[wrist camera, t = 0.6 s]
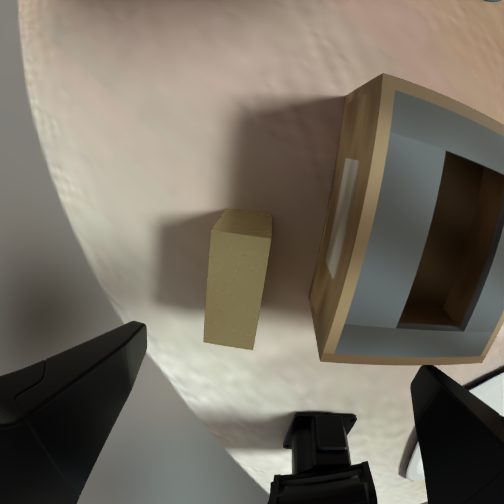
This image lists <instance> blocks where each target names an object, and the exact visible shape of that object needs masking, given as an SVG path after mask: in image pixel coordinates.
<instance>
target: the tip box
mask: <svg viewBox="0 0 504 504" xmlns="http://www.w3.org/2000/svg"><path fill="white" fill-rule="evenodd" d="M309 302H310V307H311V313H312V318H313V324H314V329H315V335H316V340H317V346H318V352H319V358H320V361H322V362H335V363H350V364H371V365H452V364H472V363H482V362H483V360H484V358H485V357H486V355H487V353H488V351H489V349H490V348H491V346H492V344H493V342H494V340H495V338H496V336H497V334H498V332H499V330H500V328H501V326H502V324H503V322H504V125H503V124H501V123H499V122H498V121H496V120H494V119H492V118H490V117H488V116H486V115H485V114H483V113H481V112H479V111H477V110H475V109H473V108H471V107H469V106H467V105H465V104H462V103H460V102H458V101H456V100H454V99H452V98H449V97H447V96H445V95H442V94H440V93H437V92H435V91H433V90H430V89H428V88H425V87H422V86H420V85H417V84H414V83H412V82H409V81H406V80H403V79H400V78H397V77H394V76H391V75H388V74H384V73H383V74H381V75H379V76H377V77H376V78H374V79H372V80H371V81H369V82H367V83H366V84H364V85H362V86H361V87H359V88H358V89H356V90H354V91H353V92H351V93H349V94H348V95H346V96H345V104H344V112H343V119H342V127H341V133H340V140H339V147H338V153H337V159H336V165H335V171H334V177H333V183H332V188H331V194H330V199H329V205H328V210H327V215H326V220H325V225H324V230H323V235H322V240H321V245H320V249H319V254H318V258H317V263H316V267H315V272H314V276H313V281H312V285H311V289H310V293H309Z"/></svg>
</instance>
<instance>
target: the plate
mask: <svg viewBox="0 0 504 504" xmlns="http://www.w3.org/2000/svg"><path fill="white" fill-rule="evenodd" d="M468 391H469V392H471V393H472V394H473V395H475V396H476V397H478V398H479V399H480V400H482V401H483V402H484V403H486V404H487V405H488V406H490V407H491V408H492V409H494V410H495V411H496V412H498V413H499V414H500V415H502V416H503V417H504V371H503V372H501V373H499V374H497V375H495V376H493V377H491V378H489V379H487V380H485V381H484V382H482V383H480V384H478V385H476V386H474V387H473V388H471V389H469V390H468ZM406 478H407V479H409V480H411V481H419V480H425V476H424V470H423V464H422V458H421V453H420V447H419V442H418V441H417V443H416V446H415V448H414V451H413V453H412V456H411V459H410V461H409V464H408V467H407V471H406Z"/></svg>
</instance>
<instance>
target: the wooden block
mask: <svg viewBox="0 0 504 504" xmlns="http://www.w3.org/2000/svg"><path fill="white" fill-rule="evenodd" d="M271 235H272V215H268V214H261V213H254V212H247V211H240V210H232V209H226V210H225V211H224V212H223V214H222V215H221V217H220V218H219V220H218V221H217V222H216V224H215V225H214V227H213V228H212V230H211V237H210V249H209V262H208V275H207V290H206V305H205V322H204V342H206V343H211V344H217V345H223V346H230V347H236V348H243V349H250V350H253V347H254V341H255V336H256V330H257V324H258V318H259V312H260V306H261V300H262V294H263V288H264V282H265V276H266V269H267V263H268V257H269V251H270V244H271Z"/></svg>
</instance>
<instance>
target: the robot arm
mask: <svg viewBox="0 0 504 504" xmlns="http://www.w3.org/2000/svg"><path fill="white" fill-rule="evenodd" d="M146 350H147V328H146V325H145V324H144V323H141V322H137V321H131V322H129V323H127V324H125V325H122V326H120V327H118V328H116V329H114V330H111V331H109V332H107V333H104V334H102V335H100V336H98V337H95V338H93V339H91V340H89V341H86V342H84V343H82V344H79V345H77V346H75V347H73V348H70V349H68V350H66V351H64V352H61V353H59V354H57V355H54V356H52V357H50V358H47V359H46V361H45V360H43V361H41V362H38V363H36V364H33V365H31V366H28V367H26V368H23V369H20V370H18V371H15V372H12V373H9V374H6V375H2V376H0V504H77V501H78V499H79V496H80V494H81V492H82V490H83V488H84V486H85V484H86V481H87V479H88V477H89V475H90V473H91V470H92V469H93V466H94V464H95V462H96V460H97V458H98V456H99V454H100V452H101V450H102V448H103V446H104V444H105V442H106V440H107V438H108V436H109V434H110V431H111V429H112V427H113V426H114V424H115V422H116V420H117V418H118V416H119V414H120V412H121V410H122V408H123V406H124V404H125V402H126V400H127V398H128V396H129V394H130V392H131V390H132V387H133V385H134V382H135V380H136V377H137V374H138V371H139V368H140V366H141V363H142V361H143V358H144V356H145V353H146ZM410 389H411V396H412V404H413V412H414V420H415V427H416V432H417V437H418V442H419V447H420V453H421V458H422V464H423V470H424V476H425V483H426V490H427V498H428V504H504V417H503V416H502V415H500V414H499V413H498V412H496V411H495V410H494V409H492V408H491V407H490V406H488V405H487V404H486V403H484V402H483V401H482V400H480V399H479V398H478V397H476V396H475V395H473V394H472V393H471V392H469V391H468V390H467V389H465V388H464V387H463V386H461V385H460V384H458V383H457V382H456V381H454V380H453V379H452V378H450V377H449V376H447V375H446V374H445V373H443V372H442V371H441V370H439V369H438V368H436V367H435V366H434V365H422V366H421V367H420V369H419V371H418V372H417V374H416V376H415V377H414V379H413V381H412V383H411V388H410ZM356 420H357V417H356V415H348V414H314V413H296V414H295V415H294V417H293V420H292V422H291V425H290V427H289V430H288V432H287V435H286V437H285V440H284V442H283V447H284V448H287V449H292V474H290V475H274V481H273V482H271V489H270V497H269V501H268V504H377V496H376V490H375V486H374V483H373V479H372V475H371V472H370V468H369V464H368V461H365V462H362V463H360V464H356V465H351V459H350V453H349V447H348V441H347V435H348V433H349V432H350V430H351V429H352V427H353V425H354V424H355V422H356Z"/></svg>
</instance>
